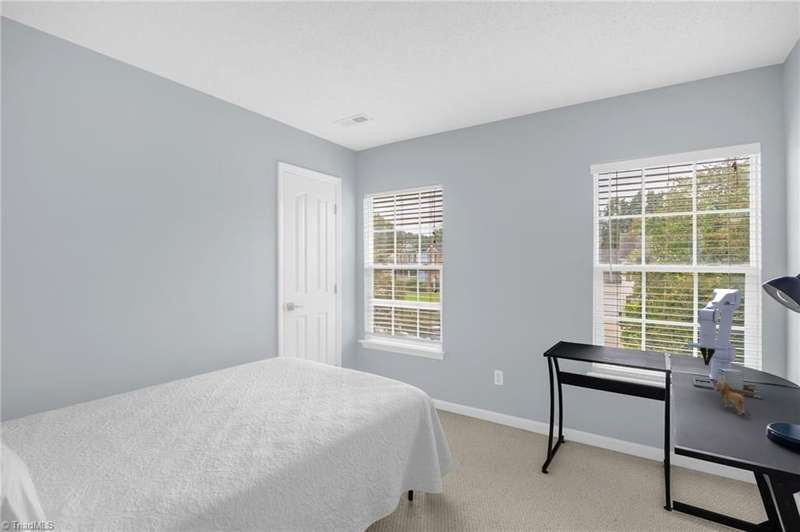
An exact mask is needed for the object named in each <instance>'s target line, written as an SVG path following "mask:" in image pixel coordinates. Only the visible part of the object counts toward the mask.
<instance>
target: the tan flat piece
mask: <svg viewBox="0 0 800 532" xmlns="http://www.w3.org/2000/svg"><path fill="white" fill-rule="evenodd" d="M713 382H714V383H718V380H715V379H714V381H713ZM743 387H744V388H749V389H754V390H753V391H747V390H744V389H743V390H737V389H733V391H734V393H738V394H744V395H749V396H748V397H750V396H753V397H752V398H756V397H758V398H757V399H761V391H757V390H756V383H749V382H748V384H746V383H743ZM749 389H748V390H749ZM744 395H743V396H744Z"/></svg>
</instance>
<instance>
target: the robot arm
mask: <svg viewBox="0 0 800 532" xmlns="http://www.w3.org/2000/svg"><path fill="white" fill-rule="evenodd" d="M712 299H713V300H711V301H709V302H708V303H707V305H706V306H705V307H704V308H701V309H699V311H698V315H697V316H698V317H697V318H698V325H699V342H688V341H687V344H686V345H687V348H695V349H699V351H700V353H701V355H702V358H703V361H704V366H708V367H709V365H711V366H710V367H711V368H710V372H711V373H708V375H709V379H711V380H713V379H715V380H718V369H732V368H731V366H732V365H731V363H734V361H736V357H737V352H736V351H737V349H736V346H735V345H734V344H733V343H731V342H730V339H731V332H732V327H733V322H734V321H733V320H734V314H735V311H736V309H740V306H741V302H742V293H741V291H740V290H739V289H724V288H715V289H713V292H712ZM718 321H719V322H718ZM717 323H718V330H717ZM710 362H711V364H710Z"/></svg>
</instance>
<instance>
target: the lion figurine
mask: <svg viewBox="0 0 800 532" xmlns="http://www.w3.org/2000/svg"><path fill="white" fill-rule="evenodd" d="M714 390H715V391H714V392H716V393H717V392H718V394H719V395H720V396H721V398H722V399H723V404H722V408H728V407H729V408H733V407H734V406H735V408H736V409H737V411H738V412H736V415H737V416H742V414H746V415H747V417H752V415H751V414H749V413H748V412H747V410H746V408H745V407H746V399H745V396H744V395H738V394H736V393H734V391H733V389H732V388H731V387H730V386H729V385H727V384H726V383H724V382H719V384H718V385H717V384H716V385H715V386H714ZM728 401H729V404H728ZM740 406H741V407H740Z"/></svg>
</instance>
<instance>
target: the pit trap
mask: <svg viewBox="0 0 800 532" xmlns="http://www.w3.org/2000/svg"><path fill="white" fill-rule="evenodd" d="M698 381H700V383H703V382H707V383H710V385H711V386H705V385H699V384H696V383H698ZM693 383H694V384H693ZM692 384H693V387H696V386H700V387H699V388H702V387H706V388H705V389H707V388H713V389H714V387H715V386H714V384H713V381H711V380H705V379H698V378H693V379H692ZM713 389H712V390H713ZM714 390H715V389H714Z"/></svg>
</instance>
